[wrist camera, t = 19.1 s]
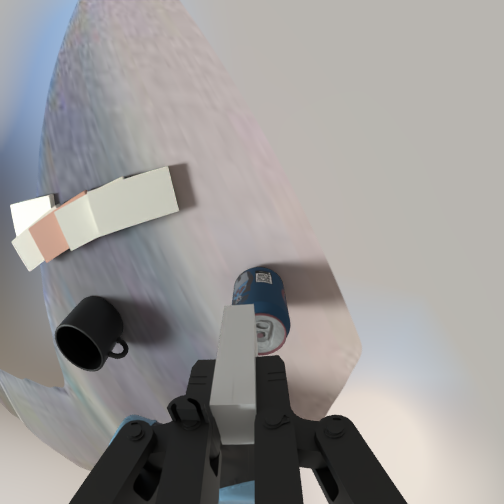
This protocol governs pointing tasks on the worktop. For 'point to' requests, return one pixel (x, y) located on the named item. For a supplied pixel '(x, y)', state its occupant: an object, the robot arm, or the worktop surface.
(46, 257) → the domino
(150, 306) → the worktop surface
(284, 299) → the soda can
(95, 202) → the domino
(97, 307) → the mug
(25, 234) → the domino
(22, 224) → the domino
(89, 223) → the domino
